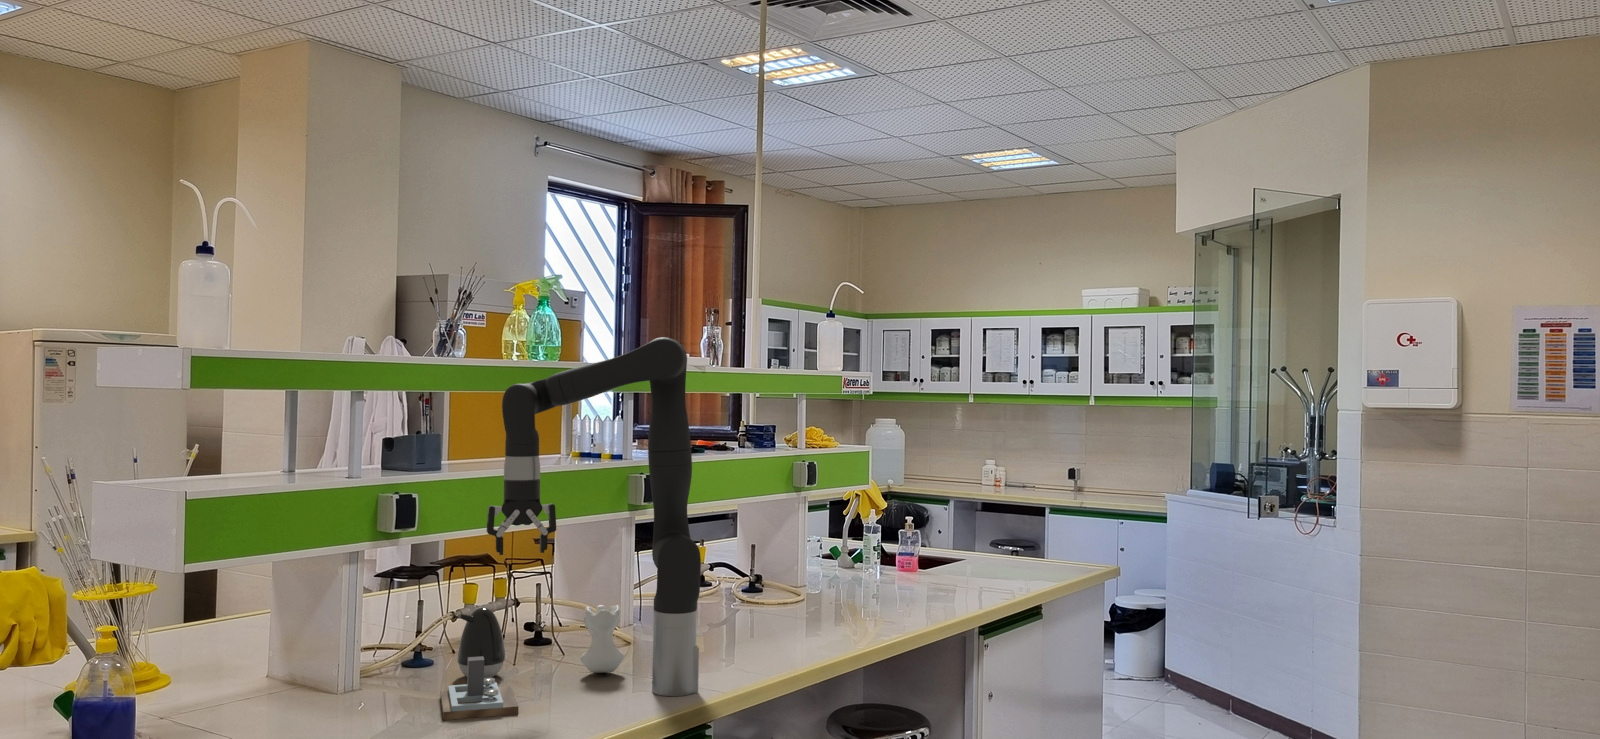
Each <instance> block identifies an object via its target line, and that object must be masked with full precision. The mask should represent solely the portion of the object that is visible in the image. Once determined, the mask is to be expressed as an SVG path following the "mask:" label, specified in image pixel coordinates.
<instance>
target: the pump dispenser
mask: <svg viewBox="0 0 1600 739" xmlns="http://www.w3.org/2000/svg"><path fill="white" fill-rule="evenodd" d="M459 618H460V619H461V620H463V621H465V622H466V623H465V625H464V628H463V630H462V633H461V636H460V641H459V646H458V651H457V658H456V659H457V660H456V661H457V664H458V665H459V666H458V667H459V669H460V672H461V673H462V675H464V676H465V677H466V678H467V667H468V657H481V656H483V657H484V678H494V677H495V676H496V675H498V674H499V673H500V671H501V670H502V668H503V665H504V661H505V660H506V648H505V647H506V646H505V641H504V636H503V631H502V628H501V625H500V623H499V620H498V618H497V616H496V615H495V613H494V611H493V610H491V609H490V608H488V607H478V608H476V609H475V610H473V611H472V612H471V614H470V615H468V614H464V613H461V614H460V616H459Z"/></svg>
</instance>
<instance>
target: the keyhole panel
mask: <svg viewBox="0 0 1600 739" xmlns="http://www.w3.org/2000/svg"><path fill="white" fill-rule="evenodd" d="M498 687H499V686H498V683H497V682H496V681H495V683H494V684H491V685H490V688H485V685H484V657H483V656H481V657H468V667H467V677H466V684H465V683H464V684H456V685H455V684H452V685H448V688H447V689H448V690H447V691H448V692H449V698H450V704H451V710H452V711H465V710H478V709H491V708H503V700H502V697H501V694H500V691H499V688H498ZM485 689H498V695H496V696H494V698H493V700H488V696H484V690H485ZM456 691H467V692H456ZM479 701H481V702H480V703H467V704H458V703H465V702H479Z"/></svg>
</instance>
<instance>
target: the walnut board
mask: <svg viewBox="0 0 1600 739" xmlns="http://www.w3.org/2000/svg"><path fill="white" fill-rule="evenodd" d="M495 682H496V678H494V677H491V678H484V685H485V688H490V685H491V684H494V683H495ZM498 688H499V691H500V694H501V697H502V700H503V708H491V709H478V710H465V711H452V710H451V704H450V698H449V692H448V690H441V691H440V695H439V696H440V706H441V711H442V719H443V721H446V720H447V721H449V720H461V719H470V718H471V719H473V718H485V717H486V718H487V717H499V716H500V717H501V716H510V715H519V707H520V706H519V704H518V701H517V698H516V696H515V693H514V691H513V688H512V686H511V685H507V686H498ZM456 692H467V691H456ZM496 695H498V689H485V690H484V696H488V700H493V698H494V696H496ZM480 702H481V701H479V702H465V703H458V704H467V703H480Z"/></svg>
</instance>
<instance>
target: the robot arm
mask: <svg viewBox="0 0 1600 739" xmlns="http://www.w3.org/2000/svg"><path fill="white" fill-rule="evenodd" d="M686 351H687V350H686V349H685V347H684V346H683V345H682V344H681V343H680V342H679V341H677V340H676V339H673V338H670V337H663V336H661V337H656V338H654V339H651V341H649V342H647V343H646V344H643V345H641V346H639V347H637V348H635V349H633V350H630V351H628V352H626V353H623V354H621V355H618V356H615V357H613V358H608V359H604V360H601V361H597V362H593V363H589V364H584V365H581V366H578V367H577V366H576V367H573V368H570V369H567V370H562V371H560V372H556V373H554V374H552V375H549V376H548V377H546V378H543V379H542V378H541V379H539V380H536V381H532V382H527V383H514V384H512V385H510V386H509V387H507V388H506V390H505V391H504V393H503V396H502V401H501V409H502V410H501V411H502V419H503V427H504V431H505V447H504V448H505V449H504V450H505V452H504V453H505V454H504V456H505V458H504V464H503V465H504V466H503V502H502V505H492V504H491V505H489V506H488V507H487V508H488V509H487V521H486V533H487V534H488V535H491V536H494V537H495V551H496V552H497V553H498V555H499V556H503V555H504V534H505V533H506V531H507V530H508V529H509V528H510V526H511V525H513V526H516V527H517V526H521V525H524V526H530V525H532V524H533V525H534V526H535V527H536V528H537V529H538V531H539V532H540V534H539V553H540V554H545V551H546V550H548V537H549V534H551V533H555V532H556V531H557V516H556V504H554V503H552V502H550V503H548V504H541V476H542V474H541V463H540V435H539V432H538V430H537V429H536V415H537V414H540V413H543V412H546V411H549V410H551V409H554V408H556V407H559V406H560V407H561V406H566V405H569V404H572V403H573V404H574V403H576V402H580V401H583V400H586V399H587V400H588V399H589V398H593V397H596V396H598V395H601V394H603V393H606V392H609V391H612V390H613V389H617V388H619V387H622V386H627V385H630V384H636V383H642V382H649V385H650V386H649V388H650V394H651V413H650V420H649V426H648V435H647V436H648V437H647V451H648V452H647V454H648V455H647V457H648V458H647V460H648V472H649V481H650V490H651V491H650V492H651V500H652V506H653V534H652V536H653V537H652V550H651V553H652V554H651V555H652V562H653V563H654V566H655V567H656V568H657V574H656V590H655V591H656V592H655V595H654V598H653V621H652V622H653V625H652V628H653V629H652V630H653V632H652V636H653V637H652V666H651V668H652V672H651V674H652V675H651V676H652V678H651V692H652V693H653V694H655V695H658V696H663V697H664V696H666V697H679V696H681V697H682V696H687V695H690V694H691V695H692V694H695V693H696V694H697V693H699V672H700V670H699V668H700V666H699V665H700V662H699V661H700V647H699V646H698V645H697V636H698V634H697V628H698V626H697V624H698V623H697V622H698V621H697V620H698V601H699V597H700V590H701V569H702V568H701V567H702V566H701V565H702V564H701V563H702V560H701V558H702V557H701V551H700V548H699V546H698V545H697V543H696V542H695V541H694V540H693V539H692V538H691V534H690V525H689V519H688V517H689V516H688V504H689V503H688V502H689V501H688V500H689V495H690V490H691V485H692V484H691V483H692V476H693V474H692V473H693V463H692V462H693V461H692V460H693V458H692V444H691V442H692V441H691V433H690V427H689V426H690V425H689V418H688V412H687V404H686V387H687V384H686V383H687V382H686V381H687V366H688V355H687V352H686ZM542 511H544V513H545V514H546V515H547V516H548V526H546V527H545V526H544V524H543V523H542V522H541V520H540V519H539V518H538V517H539V516H540V514H541V512H542ZM500 512H501V513H502V514H503V515H504V517H505V518H504V520H503V521H502V522H501V524H500V525H499V526H498V528H497V529H495V517H498V516H499V513H500Z"/></svg>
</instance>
